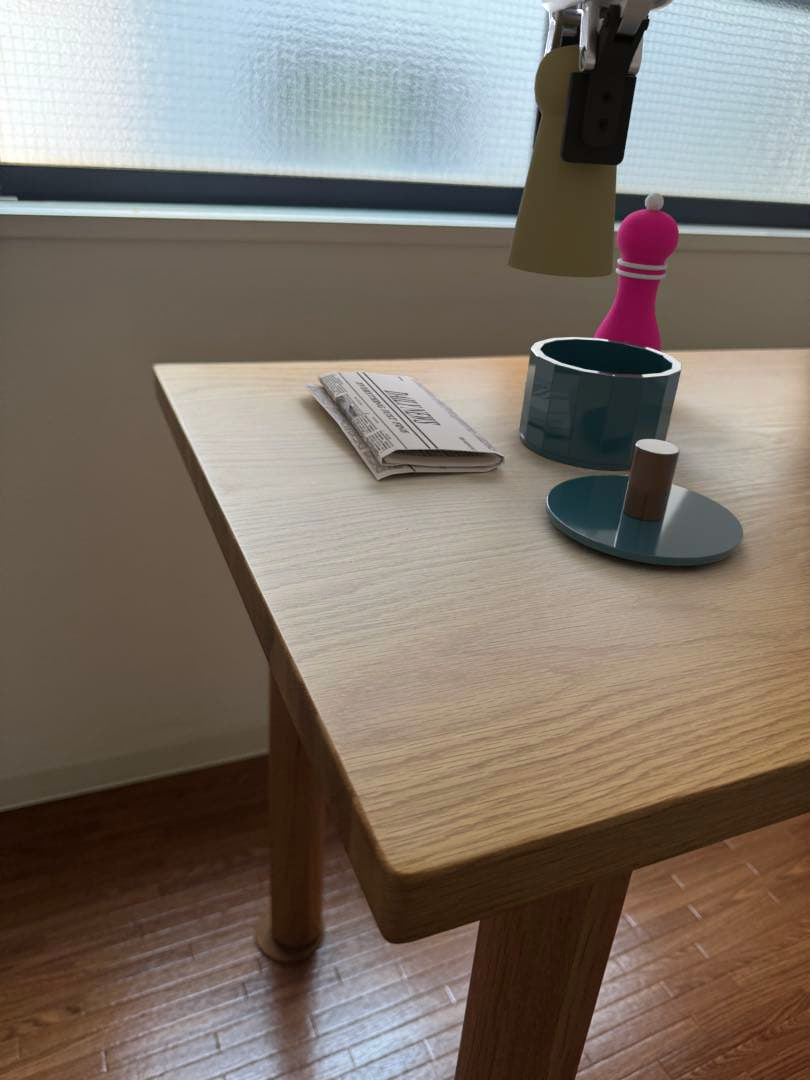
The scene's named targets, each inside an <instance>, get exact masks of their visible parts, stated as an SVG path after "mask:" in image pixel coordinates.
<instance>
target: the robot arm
mask: <svg viewBox="0 0 810 1080" xmlns="http://www.w3.org/2000/svg"><path fill="white" fill-rule="evenodd" d="M539 2H540V4H541V5H542V7H543V8H544V9H545V11H547V12H548V18H549V27H548V30H547V32H548V34H547V36H546V46H545V51H544V56H545V55H546V54H547V53H548V52H550V51H551V50H553V49H556V48H560V47H564V46H570V45H580V52H579V71H580V72H584V73H579V72H571V74H570V82H569V89H568V97H567V104H566V112H565V119H564V127H563V134H562V142H561V150H560V157H561V159H562V160H563V161H565V162H570V163H585V164H601V165H617V166H619V165H621V163H623V161H624V158H625V152H626V148H627V147H626V146H627V139H628V133H629V128H630V127H629V126H630V122H631V115H632V109H633V104H634V97H635V92H636V85H637V79H638V77H637V76H638V73H639V72H640V68H641V65H642V60H643V45H644V34H645V31H646V32H647V30H648V29H649V26H650V20H651V19H650V18H649V16H650V12H651V13H652V12H655V11H658V10H662V9H664V8H666V7H667V6H669V5H670V4H672V3H673V2H674V0H539ZM580 4H582V5H581V9H578V8H579V5H580ZM544 56H543V57H544ZM631 76H636V77H631ZM541 116H542V114H541V112H540V110H539V108H538V107H537V109H536V116H535V117H536V118H535V125H534V135H533V144H532V150H533V149H534V145H535V141H536V137H537V133H538V128H539V124H540V120H541Z"/></svg>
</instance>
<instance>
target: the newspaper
mask: <svg viewBox="0 0 810 1080" xmlns="http://www.w3.org/2000/svg"><path fill="white" fill-rule="evenodd" d="M317 377H318V378H317V379H318V382H319V383H320V384H321V385H319V384H316V383H311V382H303V383H301V384H302V386H303V387H304V388H305V389H306V390H307V391H308V392H309V394H311V396H312V397H313V398H314V400H316V401H317V402H318V403H319V404H320V405H321V406H322V408H323V409H324V410H325V411H326V412H327V413H328V414H329V415H330V416H331V417H332V419H334V421H335V422H336V423H337V425H338V426H339V427H340V429H341V430H342V432H343V433H344V435H345V436H346V438H347V439H348V440H349V442H350V443H351V445H352V446H353V447H354V448H355V451H356V452H357V453H358V454H359V456H360V458H361V459H362V460H363V462H364V463H365V465H366V466H367V467H368V469H369V470H370V472H371V473H372V475H373V476H374V477H375V479H376V480H377V481H380V480H382V479H384V478H387V477H389V476H392V475H398V474H407V473H487V472H490V471H492V470H495V469H496V468H498V467H500V466H502V465H504V464H505V458H506V457H505V455H503V454H502V453H501V452H500V451H499V450H498V449H496V448H495V446H493V445H492V444H491V443H489V442H488V440H486V439H485V438H484V437H483V436H481V434H480V433H478V432H477V431H476V430H475V429H474V428H473V427H471V426H470V425H469V424H468V423H467V422H466V421H465V420H464V419H463V418H461V417H460V416H459V415H458V414H457V413H455V412H454V411H453V410H452V409H451V408H450V407H448V405H447V404H445V403H444V402H443V401H442V400H441V399H440V398H438V397H437V396H436V395H435V394H434V393H433V392H431V390H429V389H428V388H427V387H426V385H423V383H421V382H420V381H419V380H418V379H416V378H413V377H411V376H409V375H408V376H407V375H397V374H387V373H379V372H368V371H328V372H325V373H322V374H319V375H317Z"/></svg>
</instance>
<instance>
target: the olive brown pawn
mask: <svg viewBox="0 0 810 1080" xmlns="http://www.w3.org/2000/svg"><path fill="white" fill-rule="evenodd" d="M579 52H580V45H570V46H564V47H560V48H556V49H553V50H551V51H550V52H548V53H547V54H546V55H545V54H544V55H545V56H543V58H542V60H541V61H540V62H539V64H538V67H537V69H536V73H535V78H534V87H533V89H534V99H535V103H536V105H537V108H539V110H540V112H541V114H542V116H541V120H540V124H539V128H538V133H537V137H536V141H535V145H534V149H533V148H532V154H531V158H530V161H529V166H528V170H527V174H526V179H525V183H524V186H523V191H522V194H521V195H522V196H521V199H520V204H519V208H518V212H517V217H516V221H515V224H514V229H513V233H512V237H511V241H510V246H509V250H508V254H507V258H506V265H507V266H509V267H511V268H513V269H516V270H518V271H519V270H520V271H524V272H528V273H534V274H539V275H545V276H553V277H554V276H555V277H565V278H566V277H567V278H602V277H607V276H611V275H612V274H613V270H614V268H613V267H614V248H615V247H614V245H615V244H614V243H615V224H616V220H615V219H616V199H617V198H616V197H617V172H618V165H601V164H585V163H570V162H565V161H563V160H562V159H561V157H560V150H561V142H562V134H563V127H564V119H565V112H566V104H567V97H568V89H569V82H570V74H571V72H579V73H584V72H580V71H579ZM631 77H637V75H636V76H631Z"/></svg>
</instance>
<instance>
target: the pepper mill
mask: <svg viewBox="0 0 810 1080" xmlns="http://www.w3.org/2000/svg"><path fill="white" fill-rule="evenodd" d="M644 206H645V209H644V208H643V209H639V210H636V211H633V212H632V213H629V214H628V215H627V216H626V217H625V218H624V219H623V220H622V221H621V222H620V225H619V227H618V229H617V234H616V246H617V247H618V249H619V251H620V253H621V257H620V258H618V259H617V268H616V269H615V273H616V274H618V282H617V290H616V294H615V297H614V301H613V303H612V305H611V308H610V309H609V311H608V313H607V315H606V316H605V317H604V319H603V321H602V322H601V324H600V325H599V326H598V328H597V330H596V332H595V334H594V336H593V338H599V339H606V340H613V341H620V342H626V343H631V344H635V345H639V346H644V347H648V348H652V349H654V350H657V351H660V352H662V340H661V339H662V338H661V334H660V330H659V325H658V321H657V314H656V301H657V294H658V289H659V286H660V283H661V280H664V279H665V278H666V277H667V274H666V270H667V269H668V268H669V266H668V264H667V263H666V260H667V259H668V258H669V257H670V256H671V255H673V253H674V252H675V250H676V249H677V246H678V245H679V244H678V243H679V238H680V232H679V231H680V230H679V227H678V223H677V222H676V220H675V219H674V218H673V216H671V215H670V214H668V213H666V212H664V211H662V210H661V209H662V208H663V206H664V196H663V195H662V194H660V193H659V192H651V193H650V194H648V195H647V196H646V198H645V200H644Z"/></svg>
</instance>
